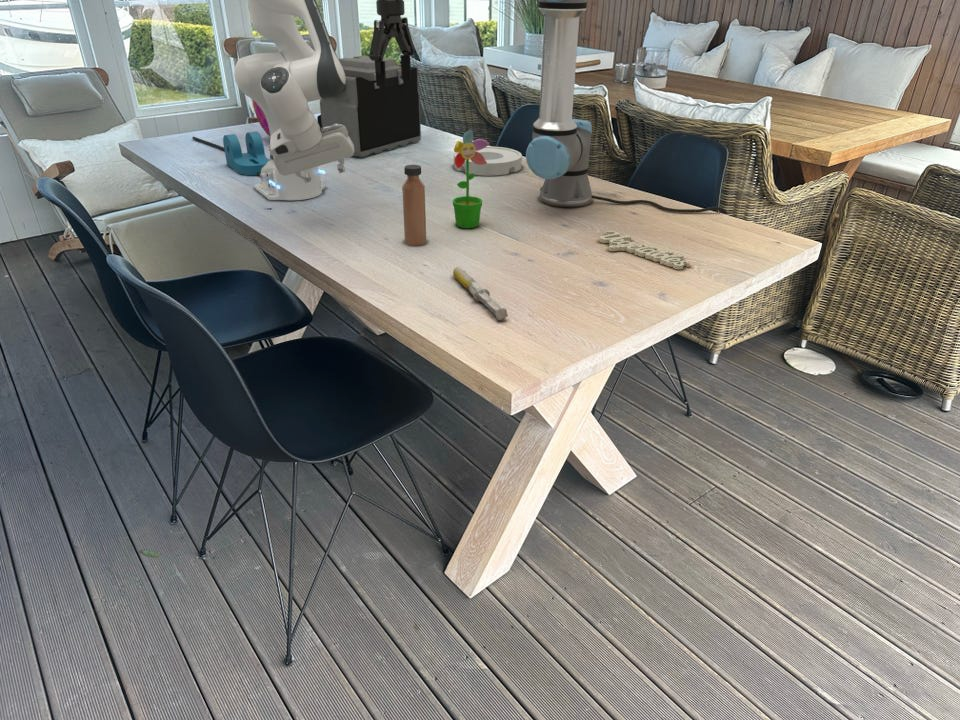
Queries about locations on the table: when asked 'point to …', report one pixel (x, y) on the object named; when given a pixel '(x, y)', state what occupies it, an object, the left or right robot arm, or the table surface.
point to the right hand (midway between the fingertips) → (394, 83)
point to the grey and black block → (375, 107)
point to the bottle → (414, 211)
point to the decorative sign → (643, 250)
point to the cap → (412, 170)
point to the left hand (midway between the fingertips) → (325, 175)
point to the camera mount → (245, 161)
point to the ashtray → (494, 162)
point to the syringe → (479, 293)
